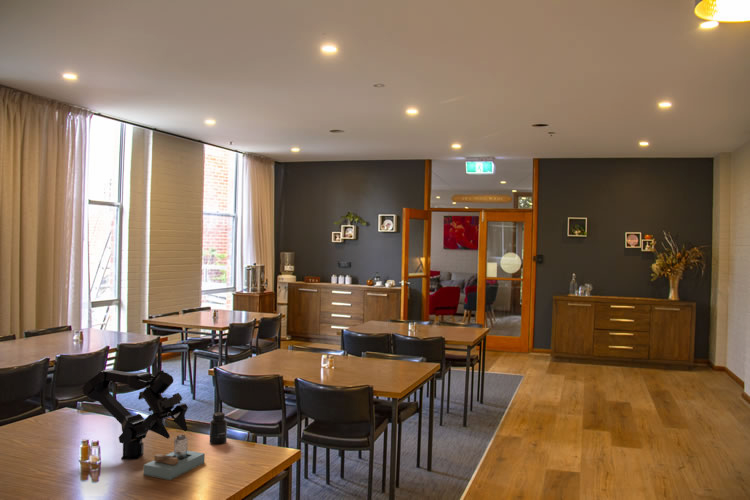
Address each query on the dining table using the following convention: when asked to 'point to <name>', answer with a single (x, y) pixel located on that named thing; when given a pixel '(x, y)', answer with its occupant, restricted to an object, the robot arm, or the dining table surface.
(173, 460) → the lock bar
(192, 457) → the socket
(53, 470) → the dining table surface
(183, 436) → the grey cylindrical piece
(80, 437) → the dining table surface
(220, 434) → the supplement bottle
